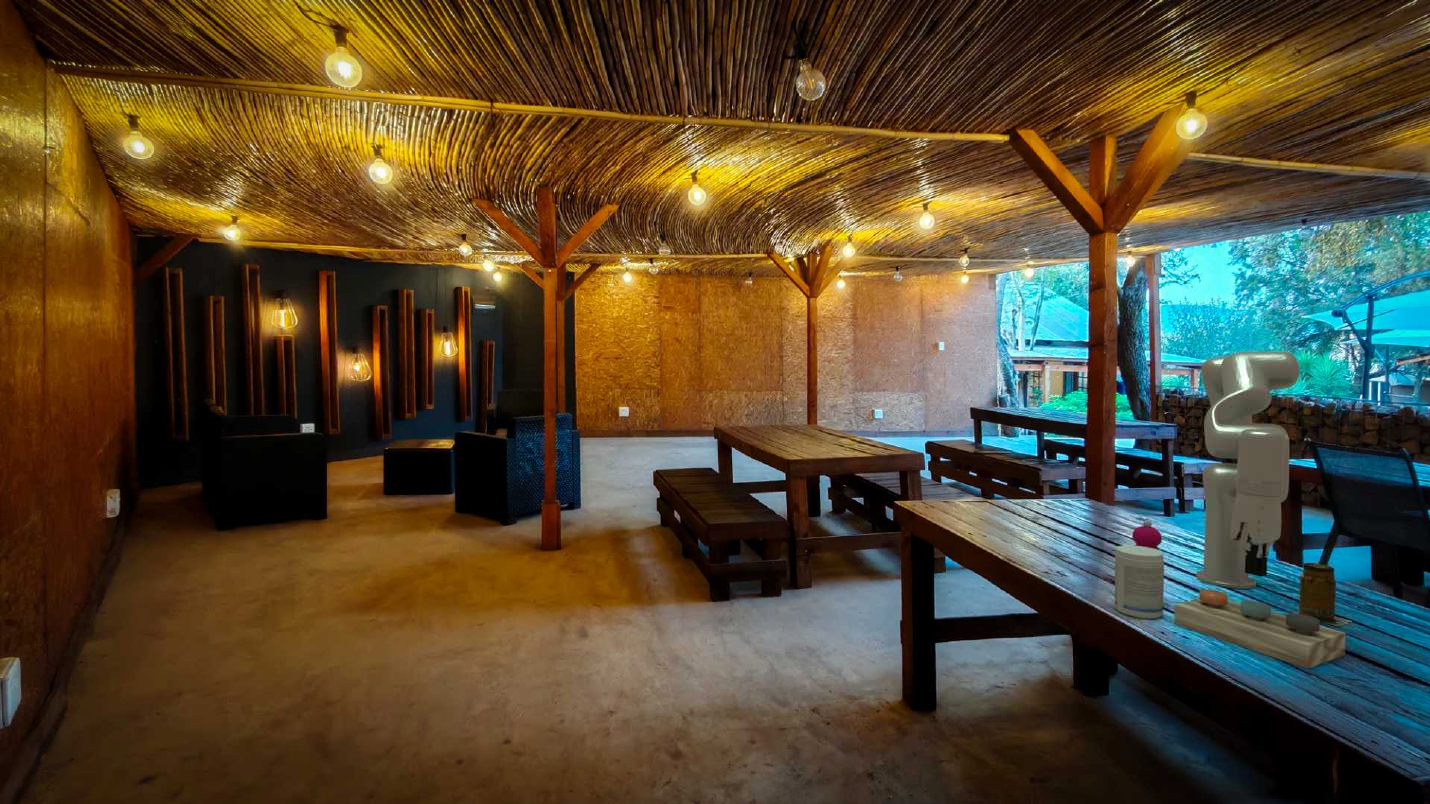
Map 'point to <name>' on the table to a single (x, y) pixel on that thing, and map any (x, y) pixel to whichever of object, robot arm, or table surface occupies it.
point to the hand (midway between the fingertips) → (1255, 574)
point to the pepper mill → (1147, 536)
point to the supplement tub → (1139, 581)
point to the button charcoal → (1302, 623)
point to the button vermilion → (1213, 597)
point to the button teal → (1255, 610)
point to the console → (1261, 633)
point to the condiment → (1319, 593)
